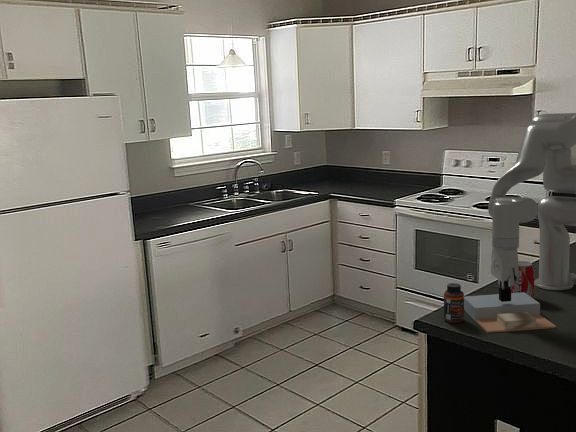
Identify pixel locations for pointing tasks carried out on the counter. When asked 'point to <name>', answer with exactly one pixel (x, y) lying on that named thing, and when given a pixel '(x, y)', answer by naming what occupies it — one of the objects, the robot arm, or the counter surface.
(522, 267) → the soda can
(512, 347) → the counter surface
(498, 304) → the light blue-gray block
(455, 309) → the supplement bottle
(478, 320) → the mat
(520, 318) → the birch tile
